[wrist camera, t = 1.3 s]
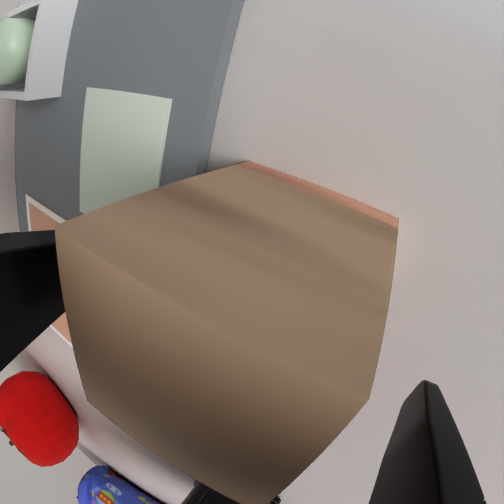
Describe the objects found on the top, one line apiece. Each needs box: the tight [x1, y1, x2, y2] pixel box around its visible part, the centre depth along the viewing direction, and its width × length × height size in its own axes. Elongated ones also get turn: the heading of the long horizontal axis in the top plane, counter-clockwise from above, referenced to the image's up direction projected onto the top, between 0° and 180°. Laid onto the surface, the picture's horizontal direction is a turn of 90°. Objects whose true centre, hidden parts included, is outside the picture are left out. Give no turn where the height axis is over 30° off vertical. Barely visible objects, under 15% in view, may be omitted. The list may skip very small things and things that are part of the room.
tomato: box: [0, 371, 79, 467], centre depth 28 cm, size 11×13×10 cm
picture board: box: [0, 0, 244, 348], centre depth 14 cm, size 23×15×3 cm, turn 166°
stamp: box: [54, 161, 399, 504], centre depth 8 cm, size 5×5×7 cm
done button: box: [0, 18, 36, 85], centre depth 10 cm, size 4×4×2 cm
